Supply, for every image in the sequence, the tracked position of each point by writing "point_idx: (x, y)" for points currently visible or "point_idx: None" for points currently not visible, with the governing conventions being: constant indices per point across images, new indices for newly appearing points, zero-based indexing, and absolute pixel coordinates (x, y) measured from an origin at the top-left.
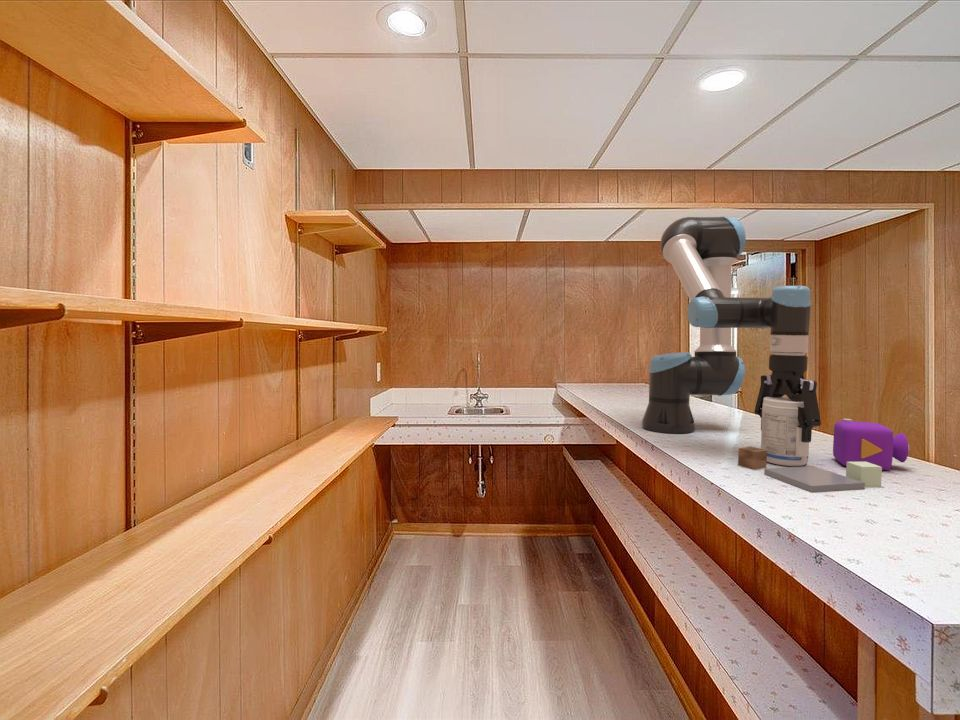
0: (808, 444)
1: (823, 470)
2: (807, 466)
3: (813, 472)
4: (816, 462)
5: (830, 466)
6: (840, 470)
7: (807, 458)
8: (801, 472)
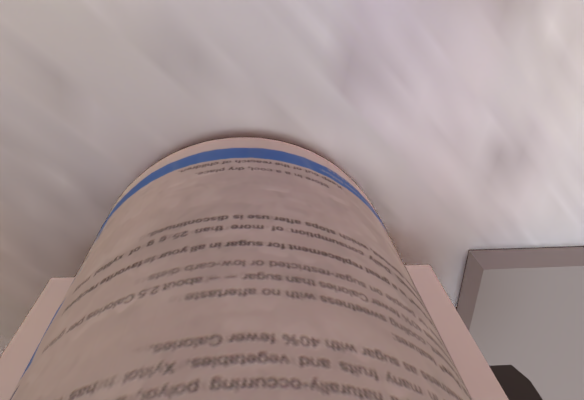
0: (463, 328)
1: (572, 283)
2: (478, 302)
3: (570, 351)
4: (298, 41)
5: (418, 32)
6: (518, 55)
7: (377, 214)
8: (544, 398)
